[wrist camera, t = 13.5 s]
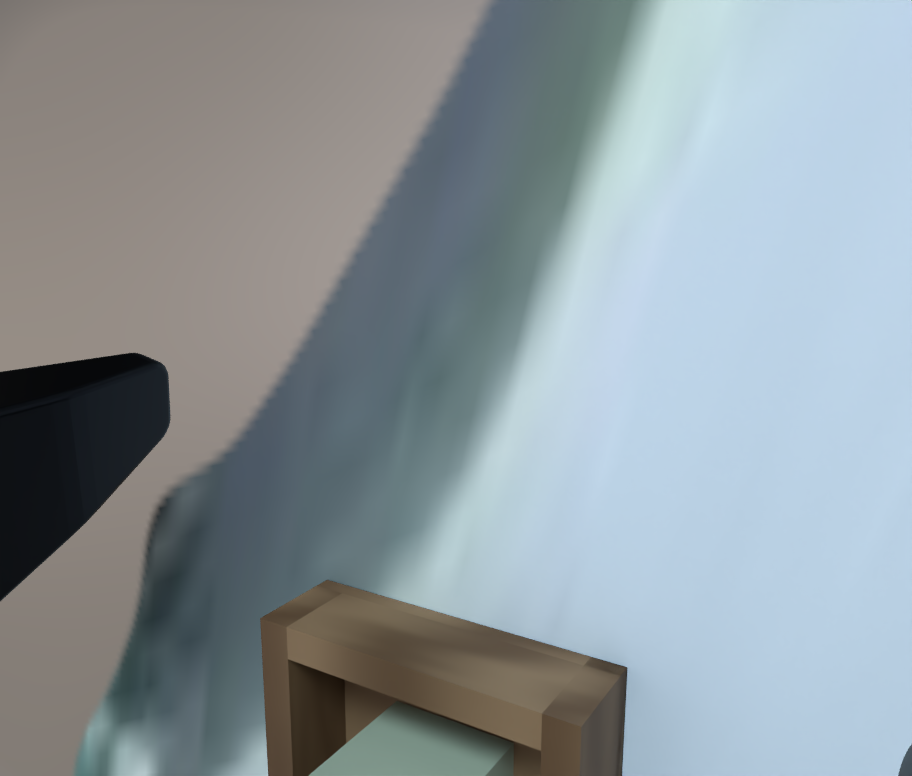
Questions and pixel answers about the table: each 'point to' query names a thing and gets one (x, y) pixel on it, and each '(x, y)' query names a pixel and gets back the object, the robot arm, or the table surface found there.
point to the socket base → (431, 683)
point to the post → (419, 748)
